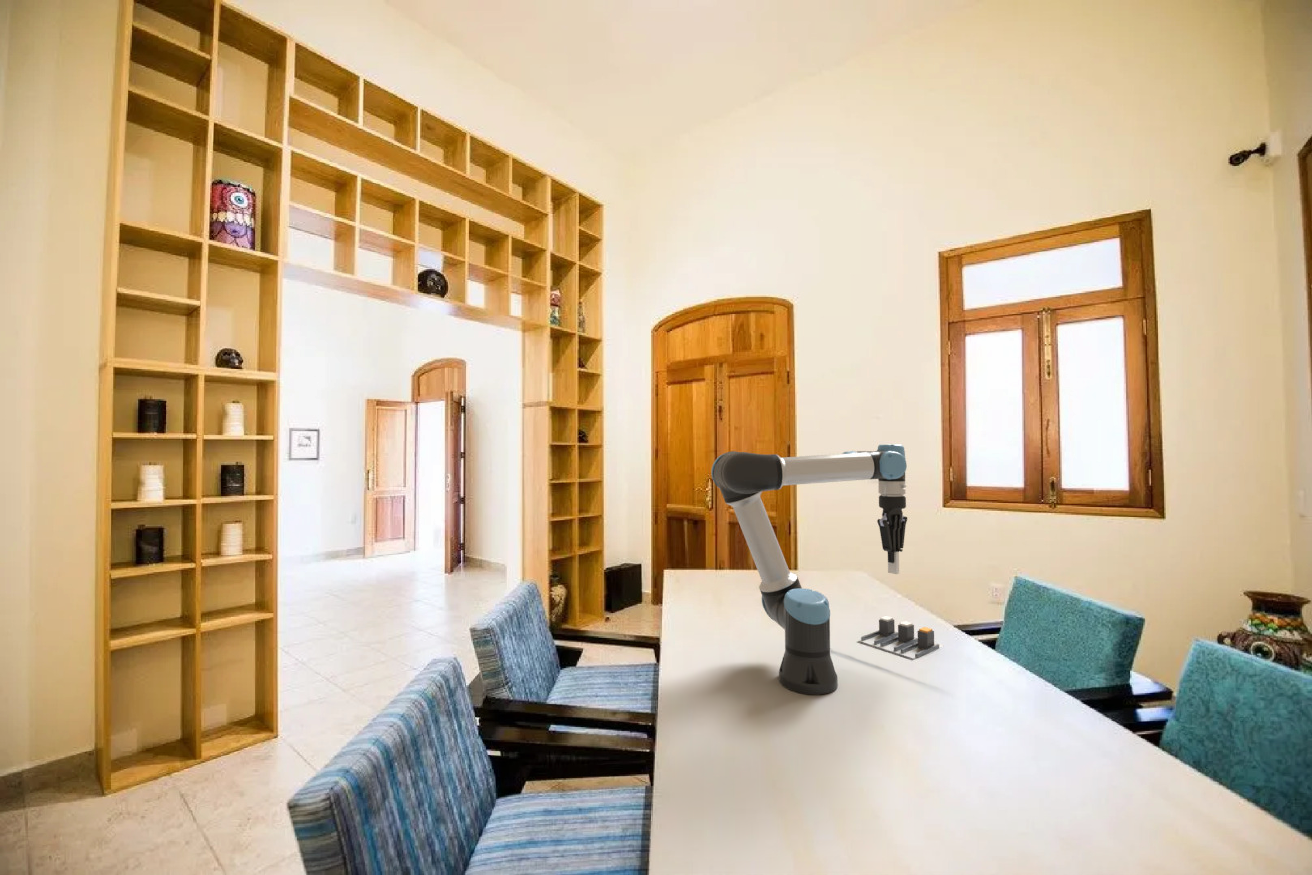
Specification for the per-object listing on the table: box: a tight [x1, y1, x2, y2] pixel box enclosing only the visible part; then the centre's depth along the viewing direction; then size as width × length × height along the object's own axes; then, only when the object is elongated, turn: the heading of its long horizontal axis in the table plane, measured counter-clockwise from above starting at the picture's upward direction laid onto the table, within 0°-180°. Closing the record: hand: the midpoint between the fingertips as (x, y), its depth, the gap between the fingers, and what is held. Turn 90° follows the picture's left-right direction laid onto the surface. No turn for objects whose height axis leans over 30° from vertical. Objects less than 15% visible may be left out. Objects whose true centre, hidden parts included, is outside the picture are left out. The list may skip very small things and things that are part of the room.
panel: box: [856, 629, 944, 661], centre depth 164 cm, size 26×20×2 cm
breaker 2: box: [897, 620, 915, 644], centre depth 166 cm, size 4×3×6 cm
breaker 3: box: [917, 626, 935, 650], centre depth 161 cm, size 4×3×6 cm
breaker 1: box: [878, 615, 896, 637], centre depth 172 cm, size 4×3×6 cm
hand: (893, 572), depth 159 cm, fingers closed
